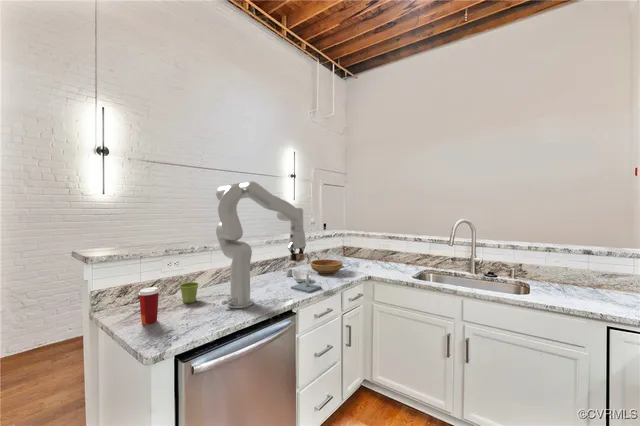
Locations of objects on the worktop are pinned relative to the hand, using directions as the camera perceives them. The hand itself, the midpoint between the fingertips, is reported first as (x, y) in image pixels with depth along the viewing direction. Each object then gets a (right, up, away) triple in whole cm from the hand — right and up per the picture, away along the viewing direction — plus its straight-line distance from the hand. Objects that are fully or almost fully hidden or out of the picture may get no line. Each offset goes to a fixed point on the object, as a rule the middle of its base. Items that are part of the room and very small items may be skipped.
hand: (297, 258), depth 166 cm
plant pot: (-54, -19, -21) cm, 61 cm away
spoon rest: (-2, -18, +22) cm, 29 cm away
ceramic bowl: (+18, -18, +41) cm, 48 cm away
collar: (0, -1, 0) cm, 1 cm away
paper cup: (-59, -19, -47) cm, 78 cm away
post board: (+5, -18, +2) cm, 19 cm away
